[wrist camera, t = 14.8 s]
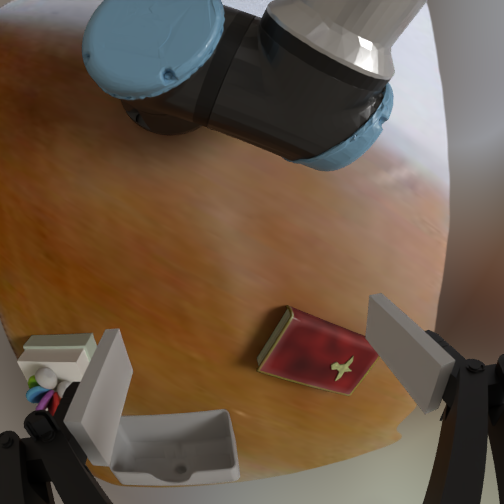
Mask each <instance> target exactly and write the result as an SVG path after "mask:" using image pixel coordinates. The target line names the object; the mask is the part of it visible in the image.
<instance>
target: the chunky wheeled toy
mask: <svg viewBox="0 0 504 504" xmlns="http://www.w3.org/2000/svg"><path fill="white" fill-rule="evenodd" d="M70 384H71V382H68V381H64V382H61V383H60V384H59V385H58V386H57V392H54V390H53V389H54V388H55V387H56V385H57V377H56V374H55V373H54V372H53V371H52V370H51V369H50V368H47V367H41V368H39V369H38V370H37V371H36V373H35V375H33V376H31V377H30V378H29V380H28V385H29V388H30V389H29V390H28V391H27V393H26V398H27V400H28V401H30V402H31V403H35V404H36V405H37V407H36V410H46V409H47V408H48V411H49V412H50V414H51V415H52V416H53V415H54V413H55V411H56V409H57V406H58V404H60V403H59V402H60V400H61V398H63V397H62V396H63V394H64V392H65V390H66V388H67V387H68V386H69V385H70Z"/></svg>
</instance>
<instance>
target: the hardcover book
mask: <svg viewBox="0 0 504 504" xmlns="http://www.w3.org/2000/svg"><path fill="white" fill-rule="evenodd" d="M286 308H287V310H286V312H285V314H284V315H283V317H282V319H281V320H280V322H279V323H278V325H277V327H276V328H275V330H274V332H273V333H272V335H271V336H270V338H269V340H268V341H267V343H266V344H265V346H264V348H263V349H262V351H261V352H260V354H259V356H258V357H257V361H258V365H259V367H258V368H257V370H256V371H257V372H260V373H264V374H267V375H270V376H274V377H277V378H280V379H284V380H287V381H291V382H294V383H298V384H302V385H306V386H309V387H313V388H317V389H321V390H325V391H329V392H333V393H337V394H342V395H346V396H350V395H351V394H352V393H353V391H354V390H355V389H356V388H357V386H358V385H359V384H360V383H361V381H362V380H363V379H364V377H365V376H366V375H367V373H368V372H369V371H370V369H371V368H372V367H373V365H374V364H375V363H376V361H377V360H378V359H379V357H380V356H379V355H378V353H377V352H376V351H375V350H374V348H373V347H372V346H371V345H370V343H369V342H368V341H367V340H366V338H365V337H366V336H363V335H361V334H358V333H356V332H353V331H350V330H348V329H345V328H343V327H340V326H338V325H335V324H333V323H330V322H328V321H325V320H323V319H320V318H318V317H315V316H313V315H310V314H308V313H305V312H303V311H300V310H298V309H295V308H293V307H290V306H288V305H287V306H286Z"/></svg>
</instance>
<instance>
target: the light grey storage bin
mask: <svg viewBox="0 0 504 504" xmlns="http://www.w3.org/2000/svg"><path fill="white" fill-rule="evenodd" d="M109 467H110V469H111V471H112V472H113V473H114V475H115V476H116V477H117V479H118V480H119V481H120V482H121V483H122V484H128V485H194V484H210V483H221V482H231V481H236V480H237V479H239V477H240V470H239V463H238V456H237V448H236V440H235V436H234V432H233V428H232V423H231V419H230V415H229V412H228V411H227V410H225V409H220V410H212V411H202V412H192V413H179V414H164V415H141V416H121V418H120V422H119V426H118V430H117V434H116V438H115V443H114V447H113V452H112V456H111V461H110V465H109Z"/></svg>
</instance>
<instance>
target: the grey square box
mask: <svg viewBox="0 0 504 504" xmlns="http://www.w3.org/2000/svg"><path fill="white" fill-rule="evenodd" d="M23 348H24V350H25V351H24V352H23V353H22V355H21V356H20V357H19V359H18V360H17V363H18V365H19V367H20V369H21V371H22V373H23V375H24V377H25V378H26V381H27V382H28V380H29V378H30V377H31V376H33V375H35V373H36V371H37V370H38V369H39V368H41V367H47V368H50V369H51V370H52V371H53V372H54V373H55V374H56V377H57V385H56V387H55V388H54V389H53V390H54V392H57V386H58V385H59V384H60V383H61V382H64V381H68V382H71V383H72V382H81V380H82V377H83V375H84V373H85V371H86V369H87V367H88V365H89V362H90V360H91V358H92V356H93V354H94V352H95V350H96V348H97V345H96V342H95V339H94V336H93V334H92V333H85V334H62V335H32V336H31V337H30V338H29V339H28V341H27V342H26V343H25V344H24V346H23ZM46 411H48V408H47V409H46Z"/></svg>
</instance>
